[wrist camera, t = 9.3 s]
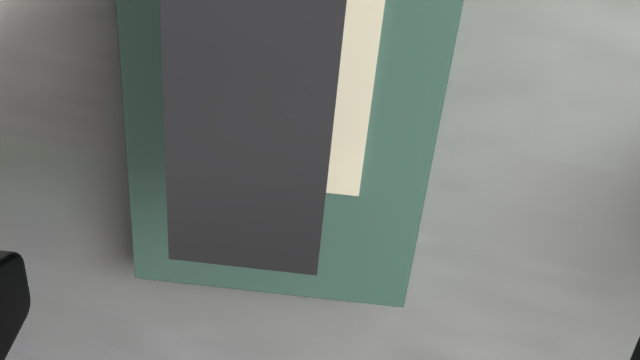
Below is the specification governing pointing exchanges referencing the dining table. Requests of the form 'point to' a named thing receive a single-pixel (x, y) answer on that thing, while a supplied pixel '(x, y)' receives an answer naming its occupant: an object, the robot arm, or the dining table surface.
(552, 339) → the dining table surface
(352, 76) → the header board
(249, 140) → the block
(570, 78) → the dining table surface
